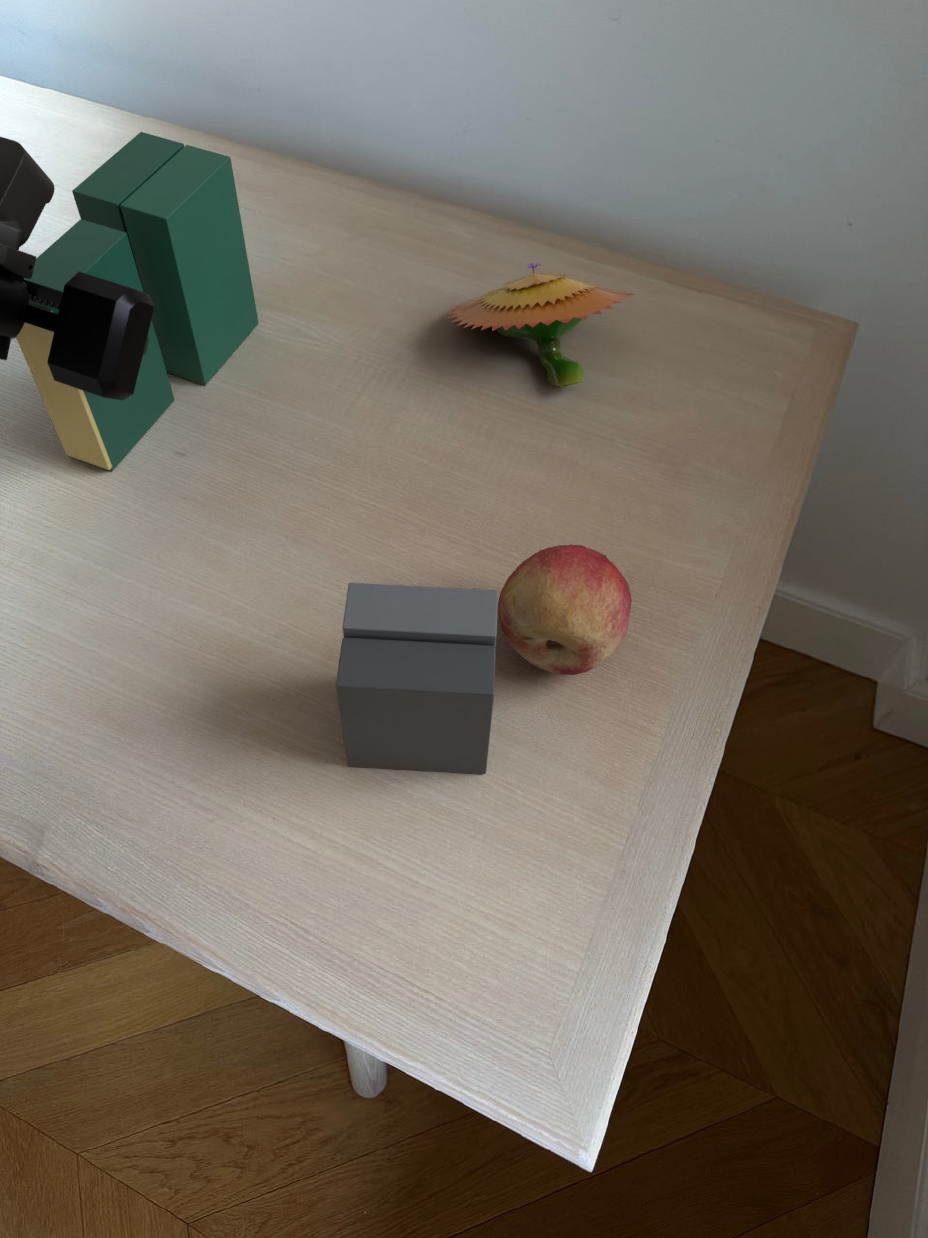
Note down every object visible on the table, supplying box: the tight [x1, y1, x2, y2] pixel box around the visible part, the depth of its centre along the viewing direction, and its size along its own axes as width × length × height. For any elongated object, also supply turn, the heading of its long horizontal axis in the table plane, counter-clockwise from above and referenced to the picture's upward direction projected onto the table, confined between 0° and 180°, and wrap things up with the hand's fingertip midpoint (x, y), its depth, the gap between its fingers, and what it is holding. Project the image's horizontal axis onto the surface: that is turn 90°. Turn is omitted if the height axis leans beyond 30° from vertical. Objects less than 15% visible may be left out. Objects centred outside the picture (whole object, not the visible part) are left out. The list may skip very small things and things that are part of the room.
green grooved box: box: [71, 131, 259, 386], centre depth 73 cm, size 8×7×14 cm
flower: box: [445, 262, 634, 387], centre depth 77 cm, size 15×13×8 cm
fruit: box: [497, 543, 632, 676], centre depth 60 cm, size 8×8×8 cm
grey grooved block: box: [335, 582, 499, 775], centre depth 56 cm, size 8×6×10 cm
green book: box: [15, 218, 175, 472], centre depth 67 cm, size 8×4×14 cm, turn 157°
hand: (85, 326), depth 66 cm, fingers open, 9 cm apart
